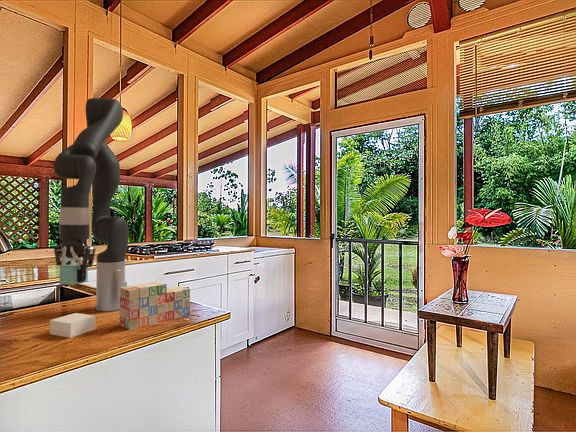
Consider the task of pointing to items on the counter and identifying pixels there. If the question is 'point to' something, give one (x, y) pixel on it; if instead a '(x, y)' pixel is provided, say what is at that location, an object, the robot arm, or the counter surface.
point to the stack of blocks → (152, 304)
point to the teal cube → (70, 275)
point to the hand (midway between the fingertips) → (74, 280)
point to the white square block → (72, 325)
